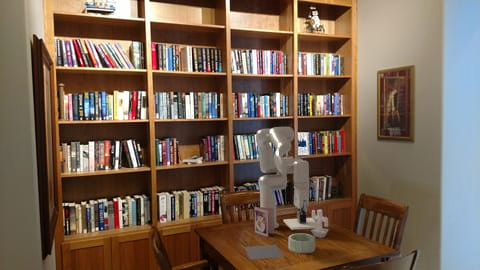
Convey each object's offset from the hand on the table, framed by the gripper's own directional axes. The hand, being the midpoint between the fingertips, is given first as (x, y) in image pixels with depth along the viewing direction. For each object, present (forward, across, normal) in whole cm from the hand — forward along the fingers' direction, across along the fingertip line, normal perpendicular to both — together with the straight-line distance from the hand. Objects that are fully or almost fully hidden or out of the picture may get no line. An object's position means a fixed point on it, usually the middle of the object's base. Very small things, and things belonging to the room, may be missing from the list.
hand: (301, 220), depth 192 cm
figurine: (+15, -17, +16) cm, 28 cm away
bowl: (+15, 0, 0) cm, 15 cm away
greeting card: (+15, -28, -13) cm, 34 cm away
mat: (+15, +1, -20) cm, 25 cm away
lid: (+2, 0, 0) cm, 2 cm away
